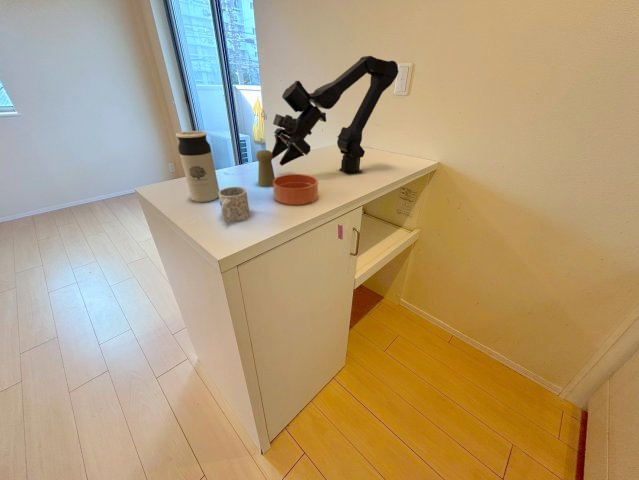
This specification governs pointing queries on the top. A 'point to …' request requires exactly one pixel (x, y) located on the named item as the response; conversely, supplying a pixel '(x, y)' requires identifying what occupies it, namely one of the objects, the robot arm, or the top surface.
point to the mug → (234, 204)
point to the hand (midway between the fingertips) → (275, 161)
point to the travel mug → (198, 165)
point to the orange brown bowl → (295, 189)
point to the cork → (265, 168)
